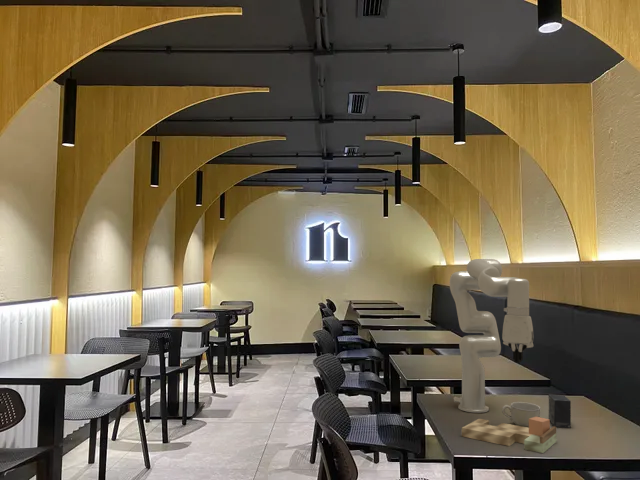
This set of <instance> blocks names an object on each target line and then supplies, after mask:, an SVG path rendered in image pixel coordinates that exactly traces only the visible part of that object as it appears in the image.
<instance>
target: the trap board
mask: <svg viewBox="0 0 640 480" xmlns="http://www.w3.org/2000/svg"><path fill="white" fill-rule="evenodd" d="M462 437H464V438H469V439H472V440H476V441H477V440H478V441H483V442H488V443H492V444H497V445H503V446H507V447H510V446H512V445H513V444H514V443H519V444H522V445H523V448H524V450H525V451H531V452H536V453H541V454H544V453H545V452H547V451H548V450H549V449H550V448H551V447H552V446H553V445H555V443H557V441H558V440H557V427H554V426H553V425H552V427H550V429H549V430H548V431H547V432H545V433H544V434H543V435H542V436H537V435H533V434H529V428H528V427H522V426H517V425H516V424H510V423H505V422H504V423H503V422H501V423H500V424H498V425H491V424H490V420H488V419H483V418H478V419H475V420H473V421H472V422H470V423H468V424H466V425H465V426H462V427H461V438H462Z"/></svg>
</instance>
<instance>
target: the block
mask: <svg viewBox="0 0 640 480" xmlns="http://www.w3.org/2000/svg"><path fill="white" fill-rule="evenodd" d="M550 424H551V423H550V419H549V418H544V417H541V416H540V417H533V418H530V419H529V434H533V435H537V436H542V435H543V434H544V433H545V432H547V431H548V430H549V429H551V425H550Z"/></svg>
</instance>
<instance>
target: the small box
mask: <svg viewBox="0 0 640 480" xmlns="http://www.w3.org/2000/svg"><path fill="white" fill-rule="evenodd" d="M571 404H572V402H571V400H570V399H569V398H568V397H567V396H565V394H563V395H561V394H551V393H549V394H548V419H550V424H551V425H552V427H553V426H554V427H556V428H562V429H563V428H565V429H571V428H572V425H571V424H572V422H571V421H572V419H571V417H572V413H571V411H572V410H571V408H572V405H571Z"/></svg>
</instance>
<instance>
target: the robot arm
mask: <svg viewBox="0 0 640 480" xmlns="http://www.w3.org/2000/svg"><path fill="white" fill-rule="evenodd" d="M502 274H503V266H502V263H500V261H498V260H497V259H494V258H474V259H471V260H470V261H469V262H468V263H467V265H466V270H461V271H455V272H453V273H452V274H451V276H450V278H449V290H450V294H451V296H452V298H453V300H454V302H455V308H456V313H457V318H458V324H459V329H460V330H461V331H462V333H467V334H468V335H464V336H463V337H461V339H460V340H459V344H458V345H459V351H460V356H461V396H459V397H458V396H454V397H453V402H454V403H458V406H457V407H458V409H459V410H460V411H463V412H468V413H476V414H479V413H481V414H482V413H487V412H489V410H490V407H489V406H487V405H486V403H485V402H486V383H485V382H486V381H485V380H486V379H485V378H486V374H485V373H486V370H485V366H484V364H483V363H482V361H481V360H480V359H481V358H495V357H498V356H499V355H500V354H501V350H502V346H501V340H500V334H499V330H498V325H497V323H498V322H497V320H496V317H495V316H494V314H493V313H492V312H490V311H485V310H478V309H477V304H476V301H475V298H474V297H473V296H472V295H471V294H470V293H469V292H468V291H480V292H482V293H483V294H485V295H486V296H488V297H491V298H492V297H493V298H498V297H499V298H500V297H504V298H505V297H506V298H507V307H503V312H505V313H506V314H505V315H504V318H503V325H502V335H501V337H502V338H501V339H502V341H503V342H502V344H503V345H505V346H508V347H509V348H510V349H511V350H512V359H513V362H514V363H518V364H520V363H522V361H523V359H524V358H523V357H524V355H523V354H524V351H525V350H526V349H529V348H530V349H531V348H533V347H534V343H533V342H534V326H533V321H532V317H531V316H530V281H529V280H528V279H527V278H519V277H513V276H511V277H510V276H502ZM518 345H519V346H518Z"/></svg>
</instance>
